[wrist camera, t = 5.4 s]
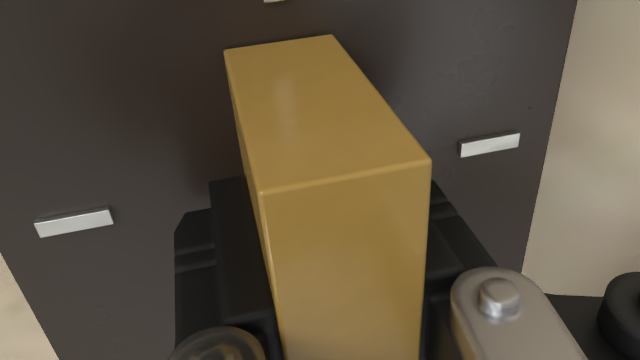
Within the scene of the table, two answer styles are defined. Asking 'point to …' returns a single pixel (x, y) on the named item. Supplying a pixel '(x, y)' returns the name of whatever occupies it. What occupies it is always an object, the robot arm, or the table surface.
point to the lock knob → (332, 200)
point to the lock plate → (222, 139)
